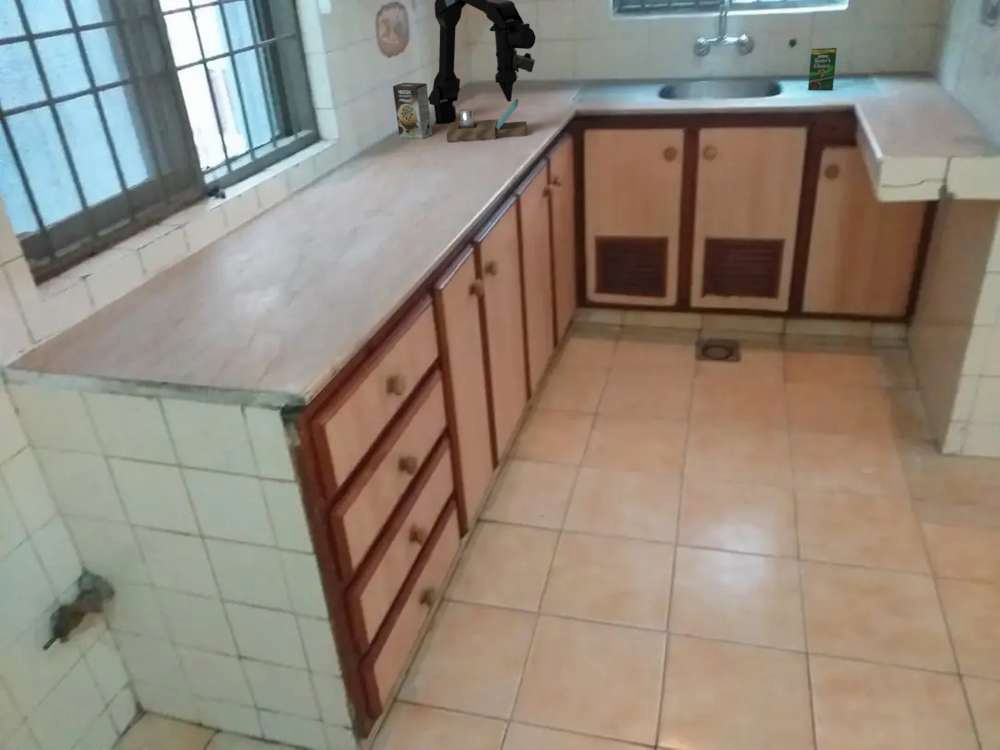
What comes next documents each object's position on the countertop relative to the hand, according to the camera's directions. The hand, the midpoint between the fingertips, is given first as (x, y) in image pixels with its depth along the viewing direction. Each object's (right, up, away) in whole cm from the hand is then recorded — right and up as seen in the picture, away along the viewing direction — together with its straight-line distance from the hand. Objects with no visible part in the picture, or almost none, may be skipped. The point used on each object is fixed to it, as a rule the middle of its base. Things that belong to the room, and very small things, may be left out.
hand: (509, 101), depth 251 cm
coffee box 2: (+106, +12, +24) cm, 109 cm away
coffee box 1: (-30, -8, +11) cm, 33 cm away
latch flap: (0, -4, +2) cm, 4 cm away
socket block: (-7, -9, +5) cm, 12 cm away
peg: (-13, -9, +6) cm, 17 cm away
